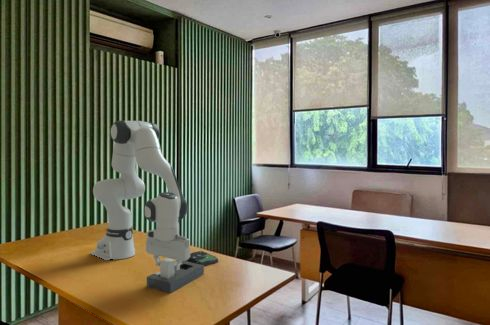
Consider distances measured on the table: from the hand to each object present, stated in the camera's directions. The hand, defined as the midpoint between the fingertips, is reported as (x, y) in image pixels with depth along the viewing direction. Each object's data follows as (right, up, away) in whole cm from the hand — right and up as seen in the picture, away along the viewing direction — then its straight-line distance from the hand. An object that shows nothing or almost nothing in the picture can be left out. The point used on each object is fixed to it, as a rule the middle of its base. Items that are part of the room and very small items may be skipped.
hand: (167, 267), depth 138 cm
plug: (0, -7, 0) cm, 7 cm away
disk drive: (+10, -6, +30) cm, 32 cm away
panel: (+3, -7, +5) cm, 9 cm away
